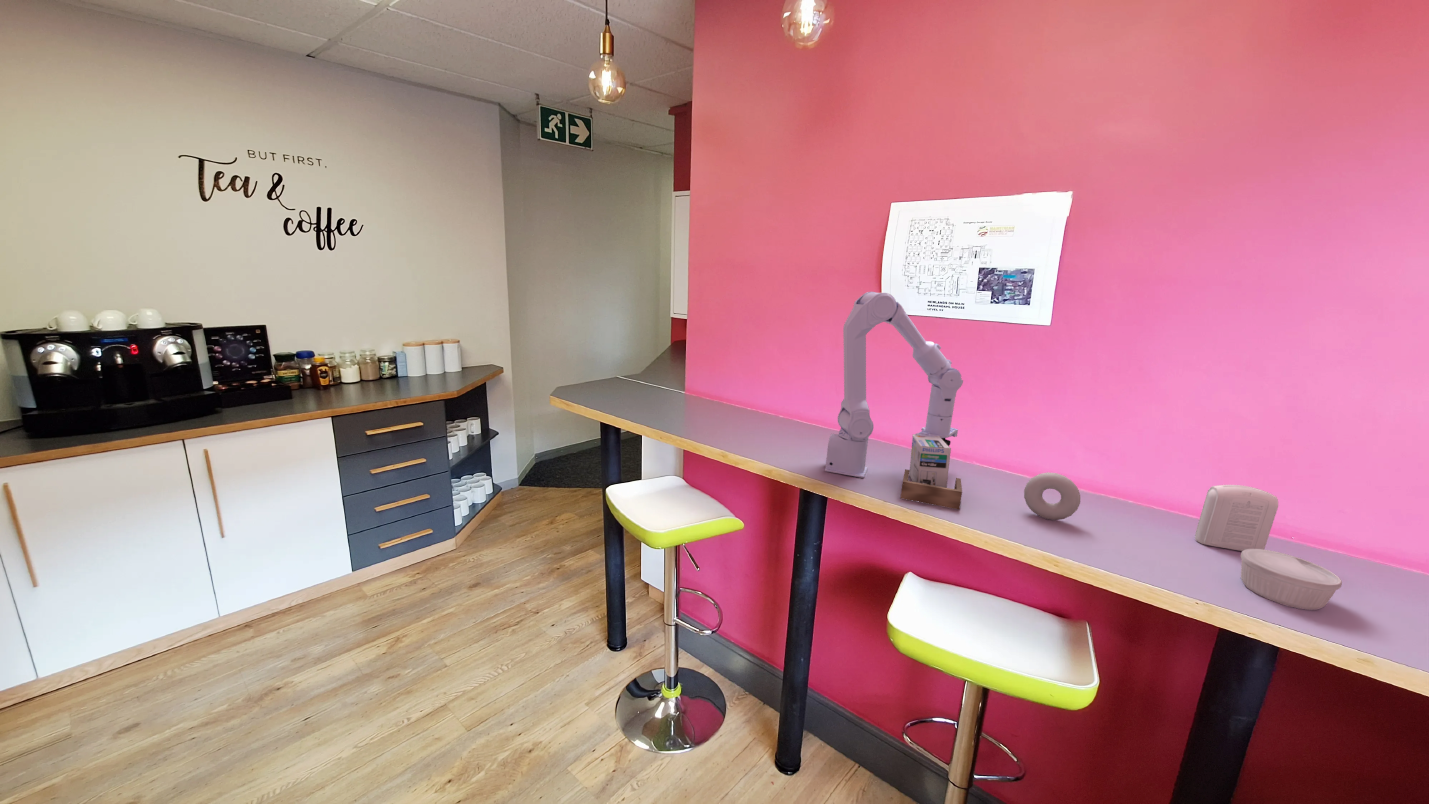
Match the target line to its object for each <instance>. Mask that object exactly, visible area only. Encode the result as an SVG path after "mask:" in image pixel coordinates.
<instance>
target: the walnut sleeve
mask: <svg viewBox="0 0 1429 804" xmlns="http://www.w3.org/2000/svg"><path fill="white" fill-rule="evenodd" d="M909 471H910V469H904V473H903V477H902V478H903V479H902V482H901V483H902V484H901V491H900V492H901V493H900V497H899V498H900V499H901V500H906V499H907V501H911V500H913V501H912V502H916V501H919V502H918V503H921V502H923V503H922V504H927V505H932V504H933V506H938V507H944V508H948V509H953V510H959V511H960V509H961V508H960V507H961V502H962V495H963V488H962V487H963V485H962V478H959V477H956V478H955V483H954V486H953V487H954V488H950V487H947V488H945V487H939V486H934V485H928V484H923V483H917V482H913V481H912V480H911V481H910V480H909V477H910V476H909Z"/></svg>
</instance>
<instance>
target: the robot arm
mask: <svg viewBox="0 0 1429 804" xmlns="http://www.w3.org/2000/svg"><path fill="white" fill-rule="evenodd" d="M881 323H886V324H889V325H891V326H893V327H894V328H895V330H897V332H898V333H899V334H900V336H902V338H903V339H904V340H905V341H906V342H907V343H908V344H909V346H910V347H911V348H912V349H913V350H912V358H913V359H914V360H915V362H916V363H917V364H918V365H919V367H920V368H921V370H923V371H924V373H925V374H926V376H927V380H928V383H930V384H931V388H930V395H929V401H928V408H927V412H926V413H927V414H926V415H927V416H926V422H925V427H924V426H923V427H921V431H919V432H917V433H915V435H917V436H921V437H926V436H940V437H941V438H942V440H943V441H944V442H945V443H946V444H947V445H948V446H949V447H950V445H951V440H949V439H947V438H950V437H954V438H955V437H957V436H958V431H959V429H958V428H955V427H952V420H953V415H954V409H955V408H954V407H955V403H956V402H955V401H956V397H957V392H958V391H959V389H961V387H962V386H963V383H964V380H963V379H962V374H961V372H960V371H959V370H958V369H956V368H954V367H952V364H953V362H952V361H951V359H947V357H945V355H944V354H943V352H942V351H941V349H942V346H941V345H940V344H938V343H934V341H928V340H926V339H925V338H924V337H923V335H922V334H921V332H920V331H919V330H918V328H917V327H916V325H915V324H914V322H913V320H911V318H910V317H909V316H908V313H907V312H906V311H905V309H904V308H903V306H902V304H900V303H899V302H898V301H896V299H895V297H894V295H892V294H890V293H888V292H875V291H867V292H865V293H863V294H862V295H861V296H859V297H858V298H857V299H855V301H854V303H853V308H852V309H851V311H850V313H849V314H848V317H847V318H846V320H845V322H844V324H843V330H842V332H843V335H842V336H843V388H844V389H843V392H844V393H843V395H844V396H843V400H841V402H840V411H839V413H838V415H837V424H838V425H839V427H840V429H839V431H838V433H831V434H830V436H829V438H828V442H827V443H828V444H827V449H826V450H827V451H826V461H825V468H824V471H825V472H827V473H834V474H839V475H845V476H851V477H856V478H861V479H863V478H865V475H866V473H867V471H868V466H866V460H867V451H868V446H869V445H868V444H869V437H870V436H871V435H872V434H873V431H874V421H873V420H872V418H871V416H870V415H871V414H870V408H869V404H868V402H867V334H868V333H869V332H870V331H872V330H873V329H874V328H875V327H876V326H877V325H879V324H881Z"/></svg>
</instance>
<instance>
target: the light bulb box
mask: <svg viewBox="0 0 1429 804" xmlns="http://www.w3.org/2000/svg"><path fill="white" fill-rule="evenodd" d="M915 434H916V433H915ZM915 434H914V433H913V434H912V440H911V451H910V452H911V453H910V464H909V470H910V471H909V477H910V480H911V482H917V483H923V484H928V485H934V486H939V487H945V488H948V478H949V469H950V460H951V451H952V448H951V447H950V445H949V446H948V445H947V444H946V443H945V442H944V441H943V440H942V438H941V437H940V436H926V437H921V436H917V435H915Z"/></svg>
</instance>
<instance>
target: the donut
mask: <svg viewBox="0 0 1429 804" xmlns="http://www.w3.org/2000/svg"><path fill="white" fill-rule="evenodd" d="M1049 489H1050V490H1051V489H1052V490H1055V491H1057V492H1058V494H1060V500H1059V501H1058V502H1056V503H1055V502H1054V503H1050V502H1047V501H1046V500H1045V499H1044V498H1043V497H1044V496H1043V494H1044V492H1045V491H1046V490H1049ZM1023 498H1024V500H1025V503H1026V506H1027V507H1028V508H1029V509H1030V510H1031V512H1033V513H1034V514H1035V515H1037V516H1038V517H1041V518H1043V519H1045V520H1051V521H1058V520H1064V519H1067V518H1069V517H1071V516H1073V515H1074V514H1075V513H1076V512H1077V511H1078V509H1079V507H1080V505H1081V493H1080V490H1079V488H1078V486H1077V485H1076V484H1075V482H1074V481H1072V480H1071V479H1070V478H1069V477H1067V476H1065V475H1062V474H1060V473H1058V472H1048V471H1047V472H1042V473H1039V474H1037V475H1035V476H1033V477H1031V478H1030V479H1029V480H1028V482H1026V484H1025V487H1024V490H1023Z"/></svg>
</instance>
